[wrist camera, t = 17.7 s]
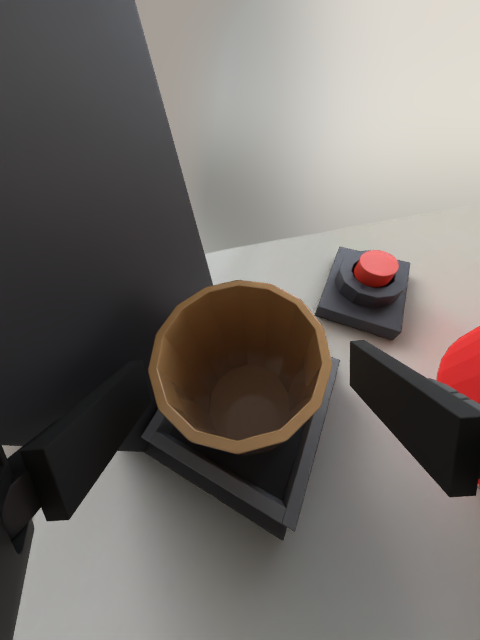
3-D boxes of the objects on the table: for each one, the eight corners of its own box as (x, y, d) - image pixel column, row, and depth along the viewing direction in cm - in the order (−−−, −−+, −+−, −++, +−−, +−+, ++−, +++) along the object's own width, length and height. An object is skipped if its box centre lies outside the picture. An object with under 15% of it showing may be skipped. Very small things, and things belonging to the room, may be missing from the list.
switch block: (392, 340, 23) (412, 323, 20) (314, 315, 25) (322, 296, 22) (402, 272, 27) (419, 250, 24) (335, 256, 30) (344, 234, 27)
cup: (190, 428, 19) (110, 395, 9) (230, 351, 23) (206, 264, 12) (274, 475, 17) (294, 502, 7) (304, 382, 20) (349, 307, 10)
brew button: (388, 292, 22) (397, 280, 21) (350, 282, 23) (356, 270, 22) (392, 267, 24) (401, 254, 22) (357, 259, 25) (363, 246, 23)
